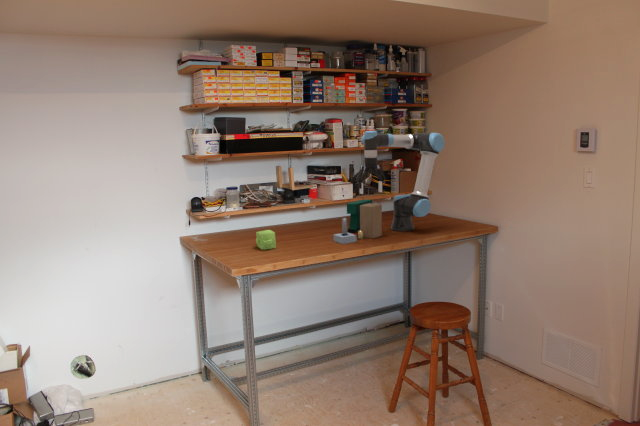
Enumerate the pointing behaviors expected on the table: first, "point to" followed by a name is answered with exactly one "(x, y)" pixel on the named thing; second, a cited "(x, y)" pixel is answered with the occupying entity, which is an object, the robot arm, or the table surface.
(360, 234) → the short pin
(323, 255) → the table surface
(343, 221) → the long pin
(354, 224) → the power tool
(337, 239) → the grey flat block
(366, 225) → the wooden block
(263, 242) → the green block
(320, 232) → the table surface
